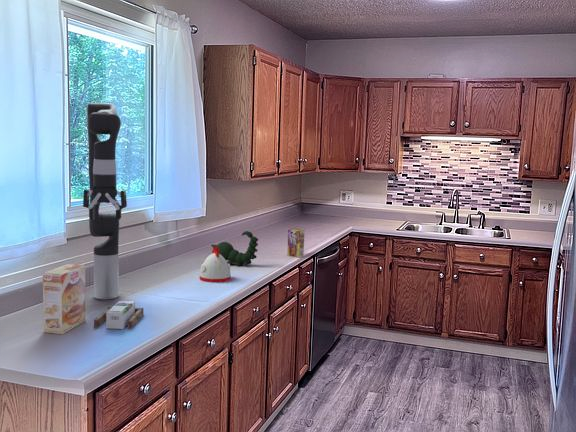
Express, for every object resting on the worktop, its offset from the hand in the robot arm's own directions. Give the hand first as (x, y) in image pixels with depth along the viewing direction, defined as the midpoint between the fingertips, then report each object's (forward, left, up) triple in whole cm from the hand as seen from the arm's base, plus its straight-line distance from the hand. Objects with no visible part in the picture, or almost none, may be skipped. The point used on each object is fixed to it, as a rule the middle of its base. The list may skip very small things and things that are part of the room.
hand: (105, 220), depth 205 cm
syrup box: (+14, +7, -31) cm, 35 cm away
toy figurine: (-94, +35, -34) cm, 106 cm away
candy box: (-122, +66, -34) cm, 143 cm away
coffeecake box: (+12, -10, -34) cm, 38 cm away
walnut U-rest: (+4, +6, -34) cm, 35 cm away
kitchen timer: (-62, +30, -34) cm, 77 cm away
